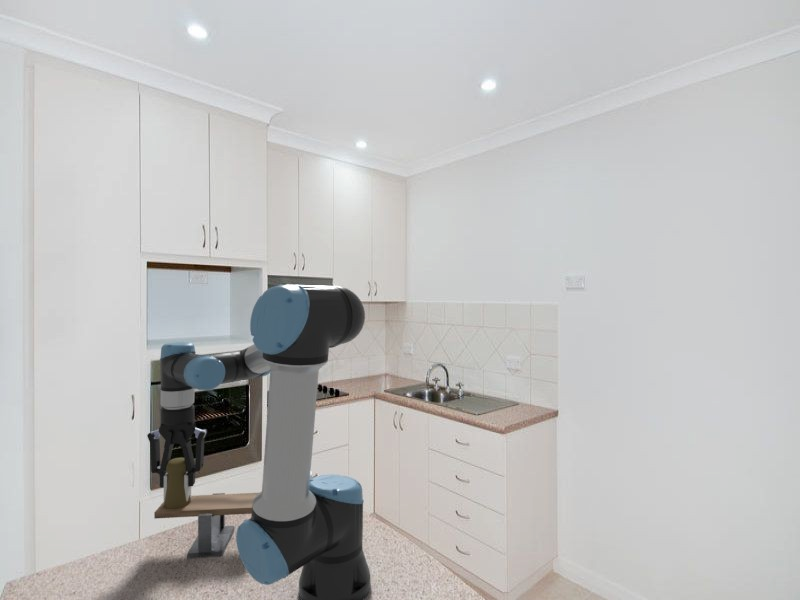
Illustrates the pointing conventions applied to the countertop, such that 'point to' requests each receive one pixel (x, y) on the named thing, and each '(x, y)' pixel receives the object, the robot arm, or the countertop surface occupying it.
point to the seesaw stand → (211, 536)
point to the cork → (176, 484)
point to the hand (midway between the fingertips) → (177, 499)
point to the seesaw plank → (211, 506)
